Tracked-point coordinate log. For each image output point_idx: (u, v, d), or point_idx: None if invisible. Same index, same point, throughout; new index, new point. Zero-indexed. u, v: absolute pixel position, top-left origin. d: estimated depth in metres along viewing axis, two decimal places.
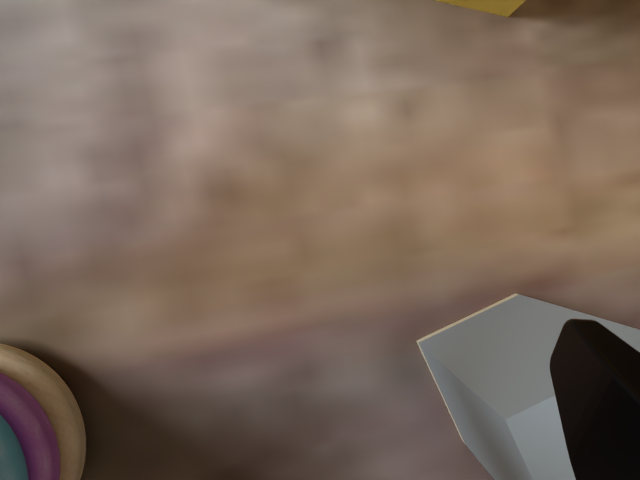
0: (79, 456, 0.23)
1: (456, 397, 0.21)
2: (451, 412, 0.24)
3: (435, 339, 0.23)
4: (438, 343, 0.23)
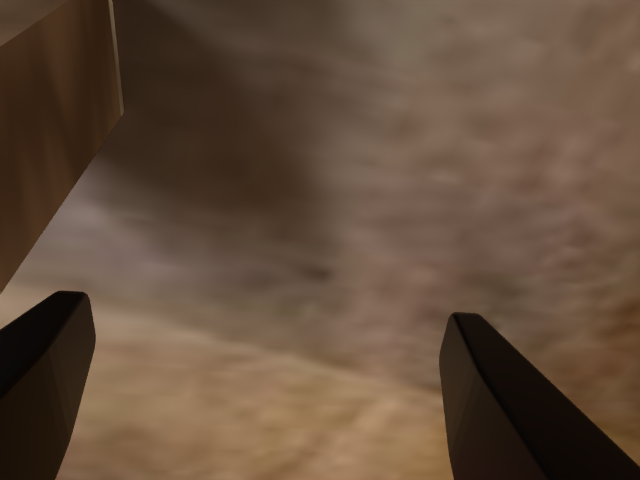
0: None
1: None
2: None
3: None
4: None
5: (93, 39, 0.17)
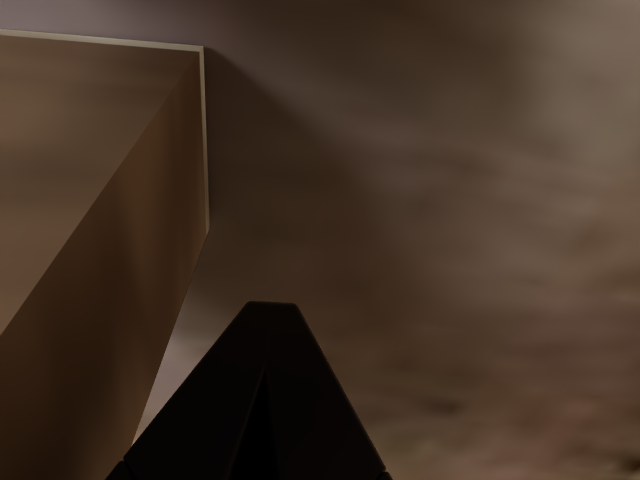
0: None
1: None
2: None
3: None
4: None
5: (182, 153, 0.12)
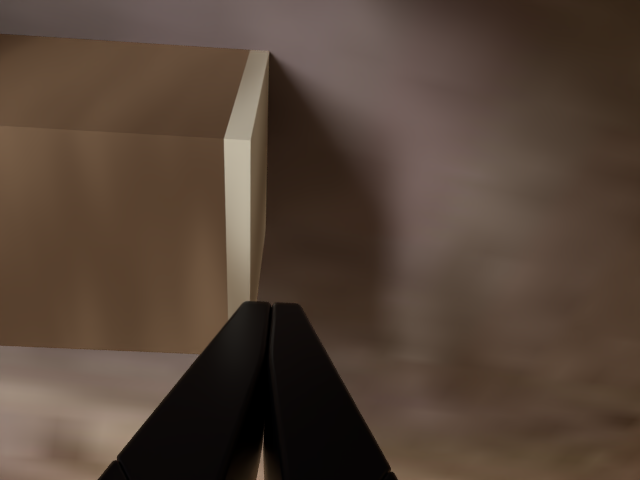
0: None
1: None
2: None
3: None
4: None
5: (112, 211, 0.10)
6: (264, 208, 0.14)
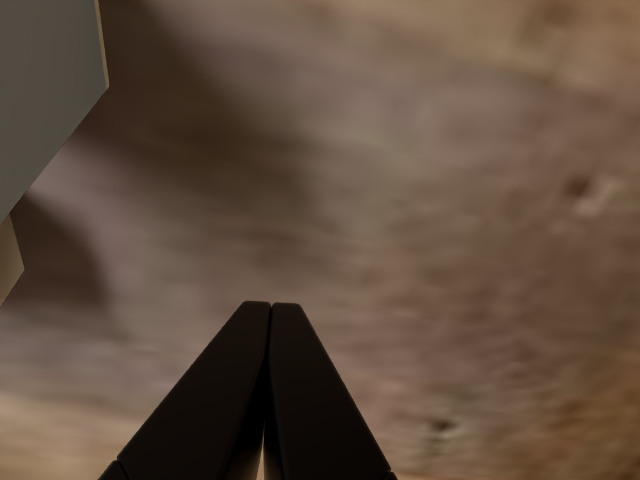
0: None
1: None
2: None
3: None
4: None
5: None
6: (12, 258, 0.24)
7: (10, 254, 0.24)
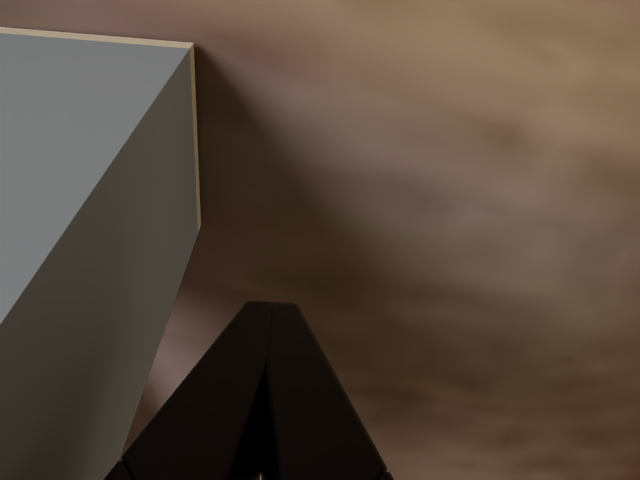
0: None
1: None
2: None
3: None
4: None
5: None
6: None
7: None
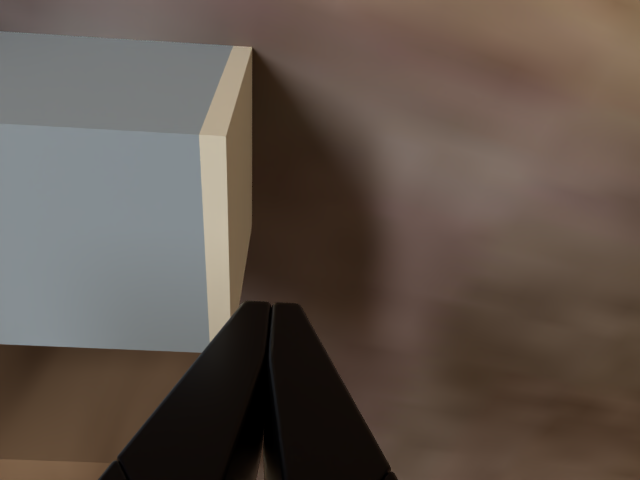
0: None
1: None
2: None
3: (196, 52, 0.12)
4: (164, 49, 0.12)
5: None
6: None
7: None
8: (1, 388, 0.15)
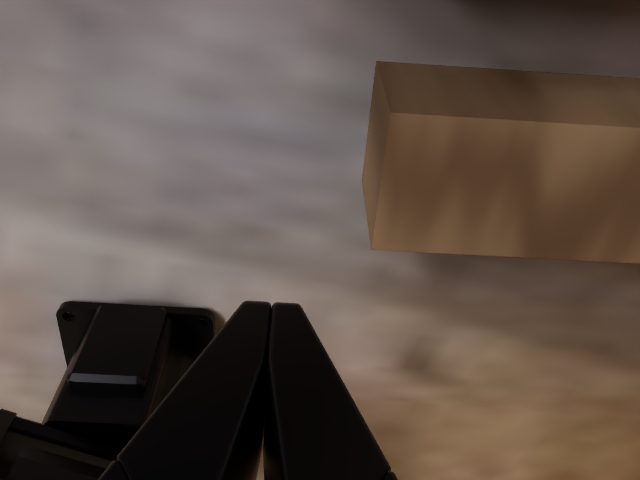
0: None
1: None
2: None
3: None
4: None
5: None
6: None
7: None
8: (520, 95, 0.18)
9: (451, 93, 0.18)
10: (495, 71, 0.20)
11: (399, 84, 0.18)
